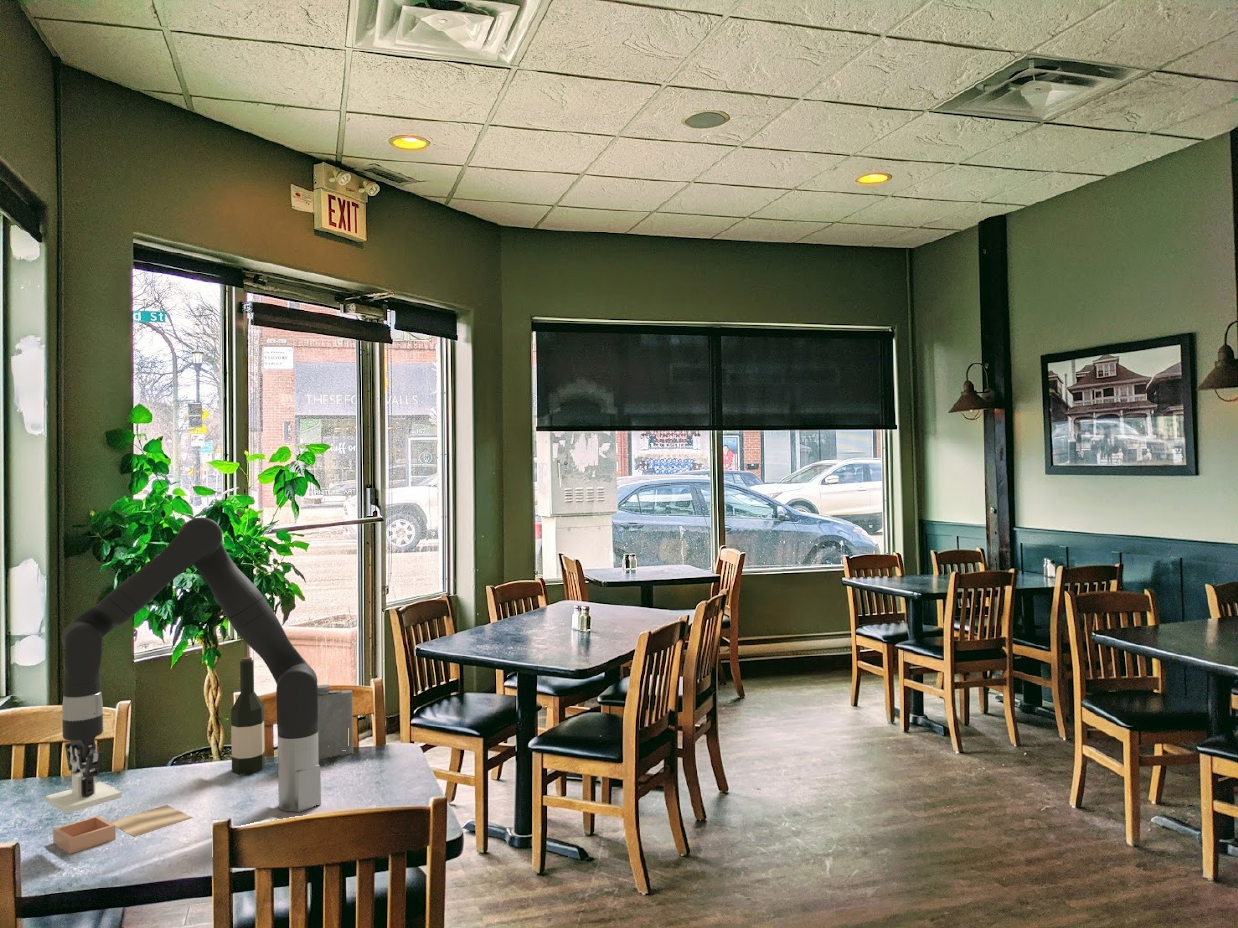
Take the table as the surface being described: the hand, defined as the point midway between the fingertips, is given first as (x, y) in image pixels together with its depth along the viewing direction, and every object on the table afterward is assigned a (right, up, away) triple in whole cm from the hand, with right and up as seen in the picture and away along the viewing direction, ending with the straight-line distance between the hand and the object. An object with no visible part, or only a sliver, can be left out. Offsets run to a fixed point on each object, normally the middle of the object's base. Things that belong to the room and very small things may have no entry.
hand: (83, 793), depth 193 cm
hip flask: (+33, -11, +56) cm, 67 cm away
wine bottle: (+16, -11, +47) cm, 51 cm away
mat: (+9, -11, +11) cm, 18 cm away
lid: (0, -1, 0) cm, 1 cm away
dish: (0, -11, 0) cm, 11 cm away
